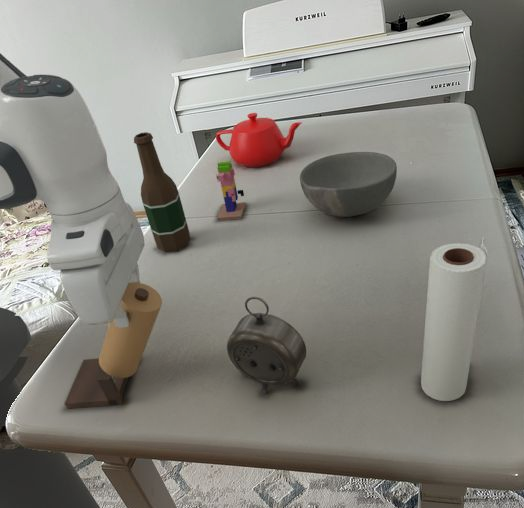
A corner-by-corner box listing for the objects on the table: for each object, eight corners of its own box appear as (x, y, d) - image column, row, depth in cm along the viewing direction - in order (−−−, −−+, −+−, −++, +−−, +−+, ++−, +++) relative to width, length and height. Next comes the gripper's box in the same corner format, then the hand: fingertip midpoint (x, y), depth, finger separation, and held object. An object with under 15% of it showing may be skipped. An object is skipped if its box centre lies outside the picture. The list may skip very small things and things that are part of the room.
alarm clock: (311, 378, 77) (300, 290, 67) (298, 404, 74) (284, 315, 63) (246, 365, 82) (226, 280, 71) (231, 389, 78) (208, 303, 68)
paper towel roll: (429, 406, 70) (441, 274, 56) (414, 375, 75) (423, 246, 61) (481, 396, 70) (507, 262, 56) (464, 366, 75) (484, 235, 61)
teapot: (211, 172, 143) (201, 127, 135) (229, 149, 153) (221, 106, 145) (298, 170, 135) (293, 122, 127) (312, 146, 145) (308, 101, 138)
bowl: (414, 200, 114) (416, 155, 107) (361, 243, 104) (360, 196, 97) (339, 183, 125) (336, 142, 119) (285, 221, 115) (279, 178, 109)
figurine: (223, 206, 126) (212, 157, 118) (245, 204, 125) (236, 155, 117) (217, 220, 121) (206, 170, 113) (241, 218, 119) (231, 168, 112)
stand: (67, 408, 81) (52, 383, 77) (86, 364, 88) (73, 339, 84) (122, 404, 79) (109, 379, 76) (136, 360, 87) (126, 335, 83)
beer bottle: (169, 233, 119) (137, 127, 103) (198, 236, 116) (169, 127, 100) (150, 251, 114) (114, 142, 99) (179, 255, 111) (146, 143, 95)
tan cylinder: (129, 392, 79) (90, 380, 78) (140, 359, 85) (104, 347, 83) (158, 316, 69) (113, 301, 68) (168, 284, 75) (127, 269, 73)
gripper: (93, 187, 72) (126, 270, 81) (40, 267, 57) (89, 358, 66) (136, 180, 71) (165, 265, 80) (94, 259, 56) (136, 353, 65)
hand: (130, 308), depth 73 cm, fingers closed on tan cylinder, 6 cm apart
